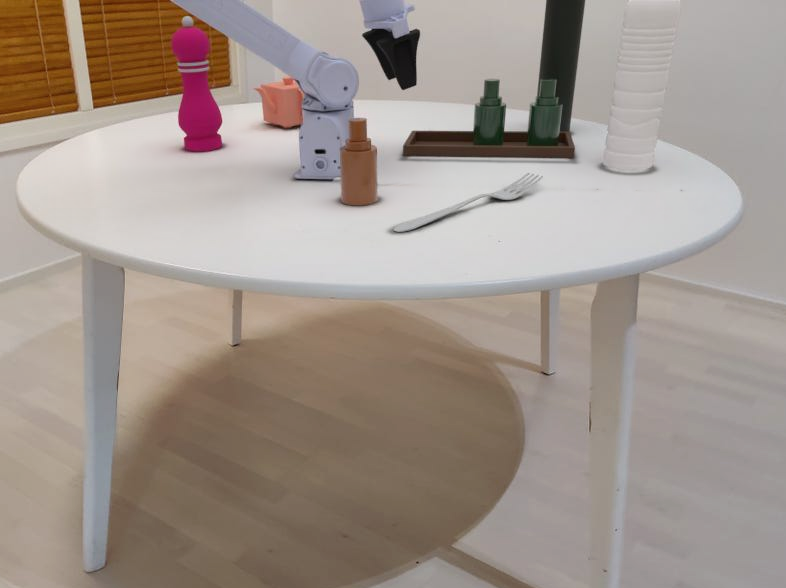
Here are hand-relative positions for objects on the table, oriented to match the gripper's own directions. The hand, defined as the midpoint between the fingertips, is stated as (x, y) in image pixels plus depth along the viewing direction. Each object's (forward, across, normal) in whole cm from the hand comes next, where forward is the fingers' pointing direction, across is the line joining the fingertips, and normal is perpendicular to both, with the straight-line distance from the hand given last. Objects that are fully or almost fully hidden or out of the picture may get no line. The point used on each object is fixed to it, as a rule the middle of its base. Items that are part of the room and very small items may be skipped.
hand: (401, 82), depth 100 cm
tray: (+15, 0, -10) cm, 18 cm away
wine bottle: (+19, +9, -24) cm, 32 cm away
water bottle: (+18, -14, -25) cm, 34 cm away
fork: (+10, -25, +1) cm, 27 cm away
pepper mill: (+4, +20, +31) cm, 37 cm away
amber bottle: (+7, -18, +13) cm, 23 cm away
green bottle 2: (+16, -3, -18) cm, 24 cm away
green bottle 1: (+14, 0, -10) cm, 17 cm away
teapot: (+9, +33, +15) cm, 38 cm away
